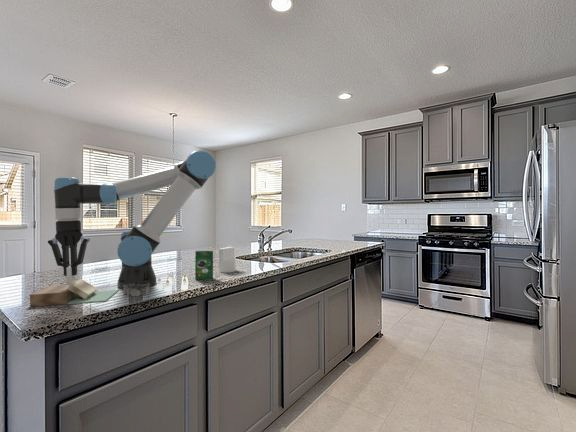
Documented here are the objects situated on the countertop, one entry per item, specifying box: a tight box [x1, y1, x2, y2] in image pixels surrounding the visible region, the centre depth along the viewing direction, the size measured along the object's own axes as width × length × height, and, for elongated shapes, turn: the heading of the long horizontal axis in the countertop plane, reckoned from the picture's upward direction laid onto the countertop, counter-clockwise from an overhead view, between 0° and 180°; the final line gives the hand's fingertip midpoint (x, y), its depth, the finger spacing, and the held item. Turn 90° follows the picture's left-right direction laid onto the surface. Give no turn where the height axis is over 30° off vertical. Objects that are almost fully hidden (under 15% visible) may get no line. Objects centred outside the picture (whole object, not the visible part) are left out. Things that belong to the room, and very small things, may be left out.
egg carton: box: [122, 283, 152, 297], centre depth 123 cm, size 11×8×4 cm
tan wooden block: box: [29, 283, 79, 307], centre depth 115 cm, size 11×14×4 cm
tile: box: [67, 278, 98, 299], centre depth 117 cm, size 7×9×2 cm
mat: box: [66, 289, 120, 305], centre depth 118 cm, size 12×16×1 cm
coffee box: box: [194, 250, 214, 281], centre depth 147 cm, size 8×3×13 cm, turn 108°
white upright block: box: [217, 246, 237, 274], centre depth 166 cm, size 9×9×12 cm
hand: (71, 284), depth 116 cm, fingers closed
